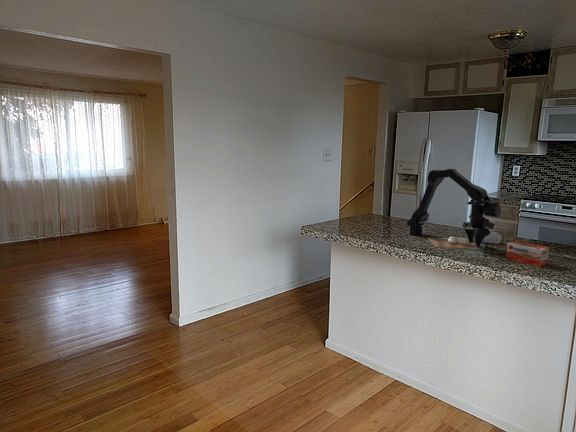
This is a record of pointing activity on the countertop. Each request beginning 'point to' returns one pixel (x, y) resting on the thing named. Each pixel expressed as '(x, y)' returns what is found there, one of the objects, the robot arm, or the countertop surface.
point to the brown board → (444, 243)
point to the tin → (493, 237)
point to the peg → (454, 240)
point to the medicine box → (527, 253)
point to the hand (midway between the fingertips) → (474, 245)
